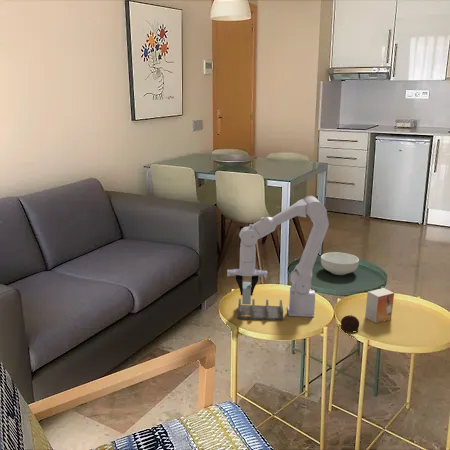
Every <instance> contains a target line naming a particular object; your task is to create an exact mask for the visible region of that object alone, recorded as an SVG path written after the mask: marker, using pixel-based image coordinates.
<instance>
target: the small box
mask: <svg viewBox="0 0 450 450" xmlns="http://www.w3.org/2000/svg"><path fill="white" fill-rule="evenodd" d="M394 297H395V292H393V291H391V290H389V289H387V288H385V287H382V288H378V289H374V290H370V291H367V294H366V305H365V316H364V317H365V318H366V319H367V318H368V320H369V321H370V322H373V323H374V322H375V324H377V322H378V323H381V322H385V321H388V319H390V320H391V319H392V315H393V305H394ZM384 320H385V321H384ZM380 321H381V322H380Z"/></svg>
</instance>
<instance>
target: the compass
mask: <svg viewBox="0 0 450 450" xmlns="http://www.w3.org/2000/svg"><path fill="white" fill-rule="evenodd" d="M335 327H337V328H338V327H339V328H340V330H342V331H343V332H345V333H349V332H353V331H357V330H358V331H359V327H360V321H359V319H358V318H357V317H356V316H354V315H352V314H350V315H345V316H344V317H342V318H341V321H340V324H339V323H335ZM346 331H347V332H346ZM358 331H357V332H358Z"/></svg>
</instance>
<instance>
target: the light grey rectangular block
mask: <svg viewBox="0 0 450 450" xmlns="http://www.w3.org/2000/svg"><path fill="white" fill-rule="evenodd" d="M251 282H252V281H242V286H243V295H241V298H242V299H241V305H252V304H251V300H252V299H251V298H252V296H251Z"/></svg>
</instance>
